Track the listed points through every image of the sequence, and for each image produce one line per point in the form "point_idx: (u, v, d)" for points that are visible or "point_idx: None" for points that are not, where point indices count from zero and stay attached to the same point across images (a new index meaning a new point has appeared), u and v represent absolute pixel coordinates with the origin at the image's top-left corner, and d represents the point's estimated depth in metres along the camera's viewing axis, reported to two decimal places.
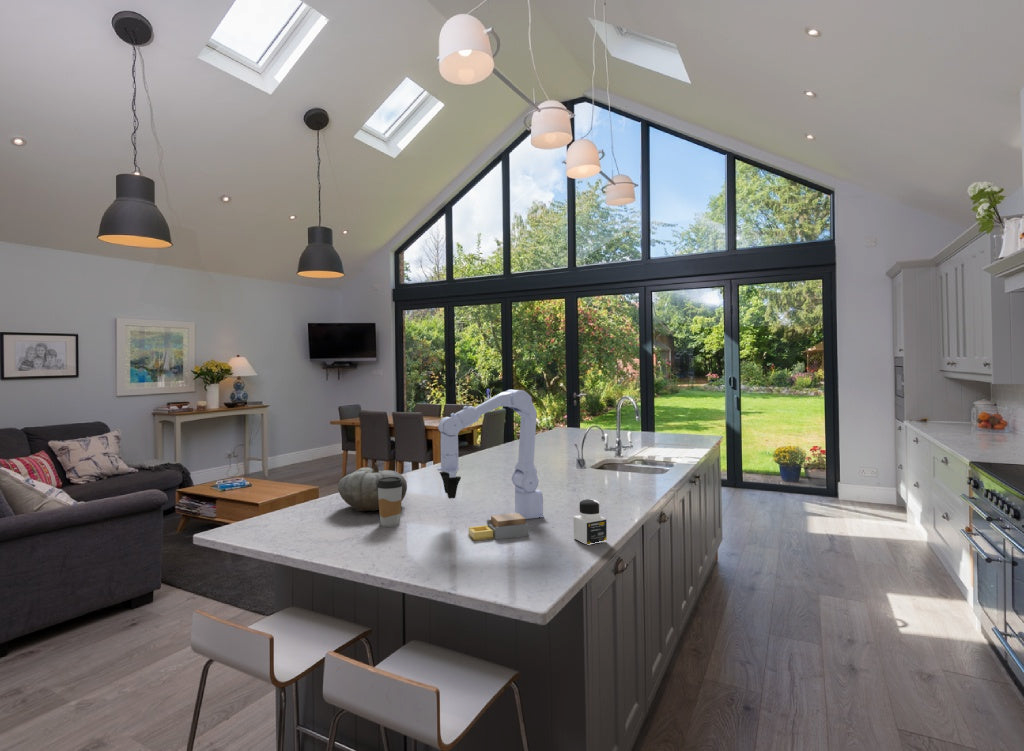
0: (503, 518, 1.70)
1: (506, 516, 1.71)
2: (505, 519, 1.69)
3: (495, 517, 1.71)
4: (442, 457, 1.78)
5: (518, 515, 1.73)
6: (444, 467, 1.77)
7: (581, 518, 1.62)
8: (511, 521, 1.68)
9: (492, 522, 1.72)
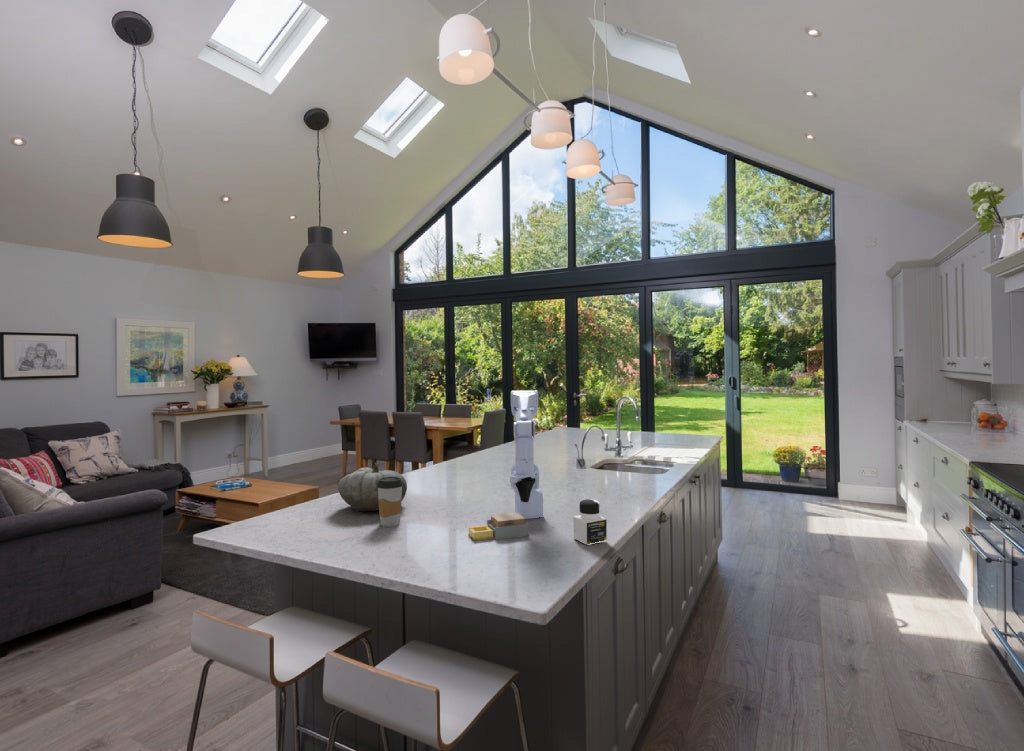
0: (503, 518, 1.70)
1: (506, 516, 1.71)
2: (505, 519, 1.69)
3: (495, 517, 1.71)
4: (515, 461, 1.73)
5: (518, 515, 1.73)
6: (515, 471, 1.72)
7: (581, 518, 1.62)
8: (511, 521, 1.68)
9: (492, 522, 1.72)
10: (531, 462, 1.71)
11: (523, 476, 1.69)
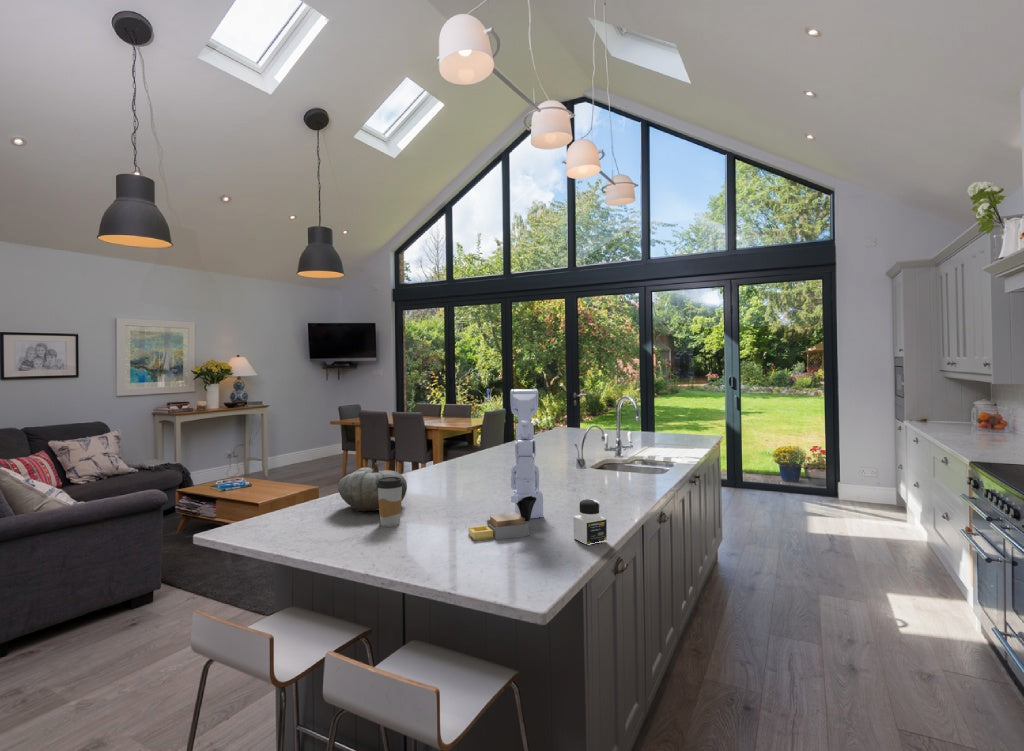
0: (502, 518, 1.70)
1: (505, 517, 1.71)
2: (504, 519, 1.69)
3: (494, 517, 1.71)
4: (516, 480, 1.73)
5: (517, 515, 1.73)
6: (516, 490, 1.72)
7: (581, 518, 1.62)
8: (510, 521, 1.68)
9: (491, 522, 1.72)
10: (532, 481, 1.71)
11: (524, 495, 1.69)
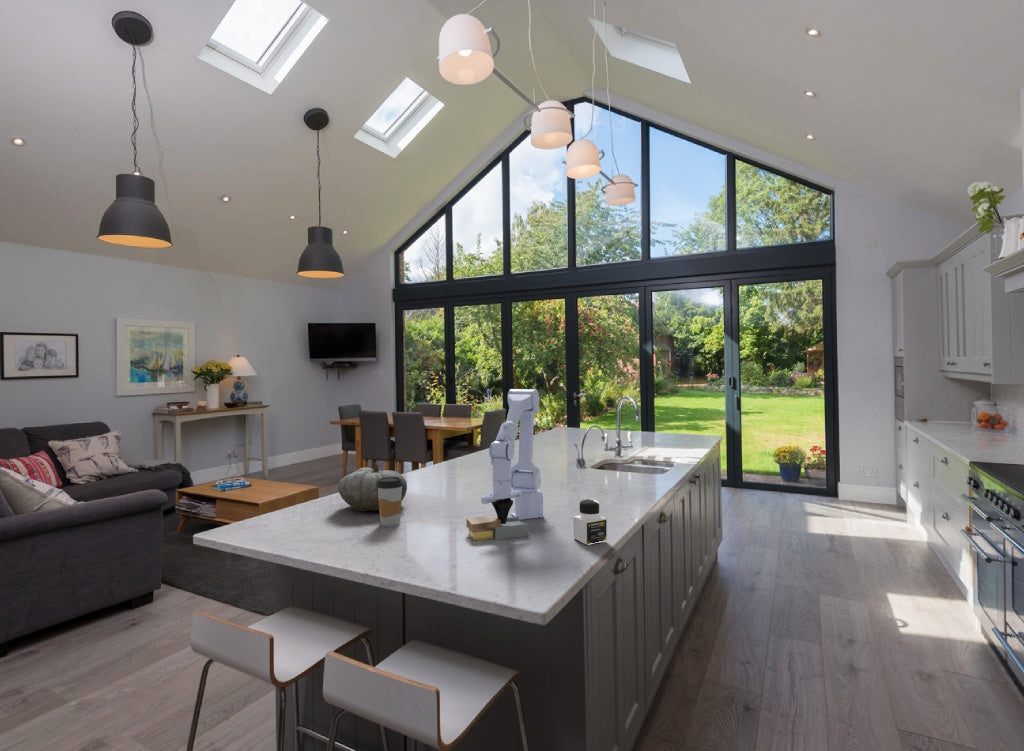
0: (478, 520, 1.68)
1: (481, 519, 1.69)
2: (480, 521, 1.67)
3: (470, 520, 1.69)
4: None
5: (494, 517, 1.70)
6: (493, 492, 1.71)
7: (581, 518, 1.62)
8: (486, 524, 1.66)
9: (467, 525, 1.70)
10: (506, 484, 1.68)
11: (496, 497, 1.67)
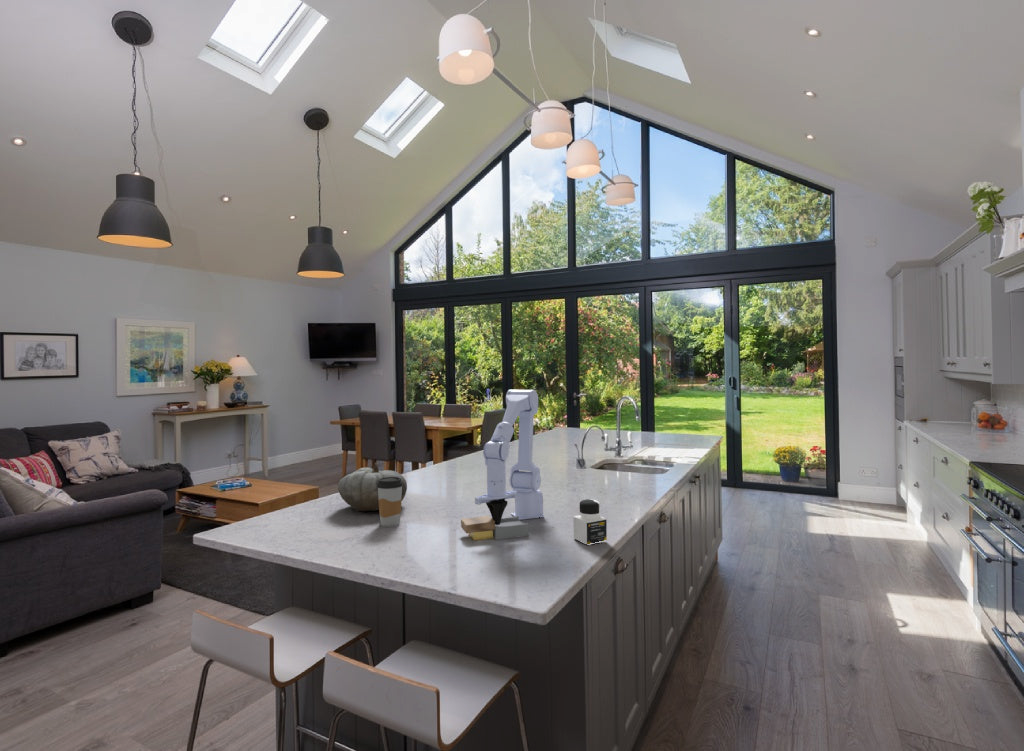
0: (472, 521, 1.67)
1: (475, 520, 1.69)
2: (474, 522, 1.66)
3: (465, 520, 1.69)
4: None
5: (488, 518, 1.70)
6: None
7: (581, 518, 1.62)
8: (479, 524, 1.65)
9: (462, 525, 1.69)
10: (500, 484, 1.67)
11: (489, 498, 1.66)
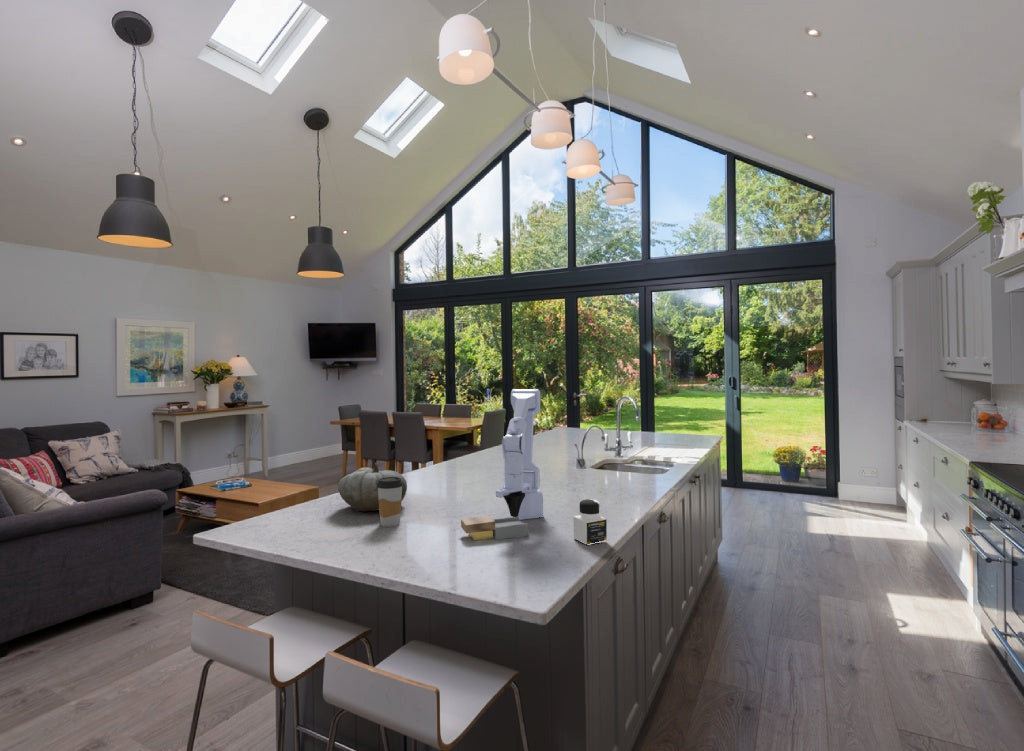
0: (472, 521, 1.67)
1: (475, 520, 1.69)
2: (474, 522, 1.66)
3: (465, 520, 1.69)
4: None
5: (488, 518, 1.70)
6: (504, 485, 1.72)
7: (581, 518, 1.62)
8: (479, 524, 1.65)
9: (462, 525, 1.69)
10: (519, 477, 1.70)
11: (510, 491, 1.68)
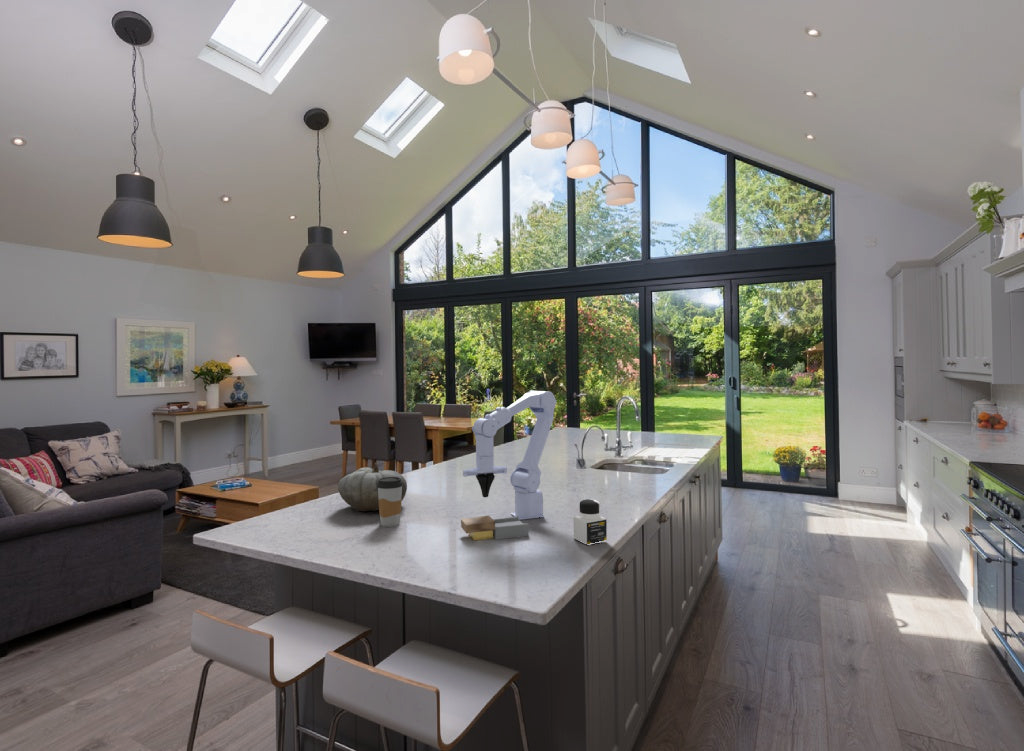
0: (472, 521, 1.67)
1: (475, 520, 1.69)
2: (474, 522, 1.66)
3: (465, 520, 1.69)
4: None
5: (488, 518, 1.70)
6: None
7: (581, 518, 1.62)
8: (479, 524, 1.65)
9: (462, 525, 1.69)
10: (486, 459, 1.77)
11: (475, 471, 1.77)
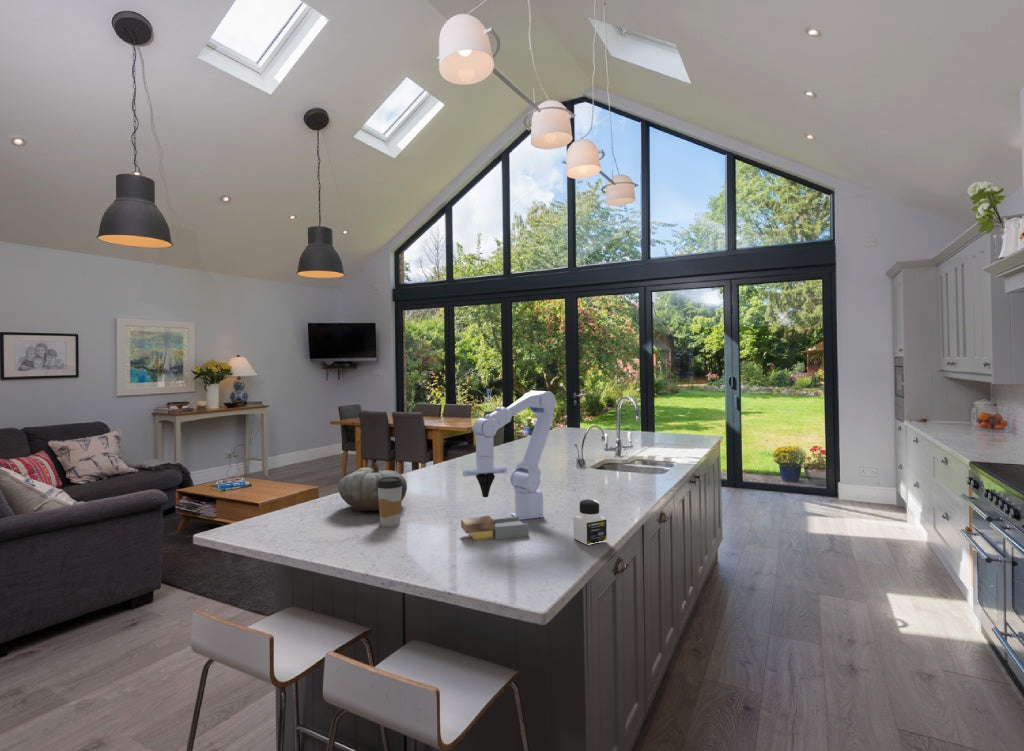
0: (472, 521, 1.67)
1: (475, 520, 1.69)
2: (474, 522, 1.66)
3: (465, 520, 1.69)
4: None
5: (488, 518, 1.70)
6: None
7: (581, 518, 1.62)
8: (479, 524, 1.65)
9: (462, 525, 1.69)
10: (486, 459, 1.77)
11: (475, 471, 1.77)
